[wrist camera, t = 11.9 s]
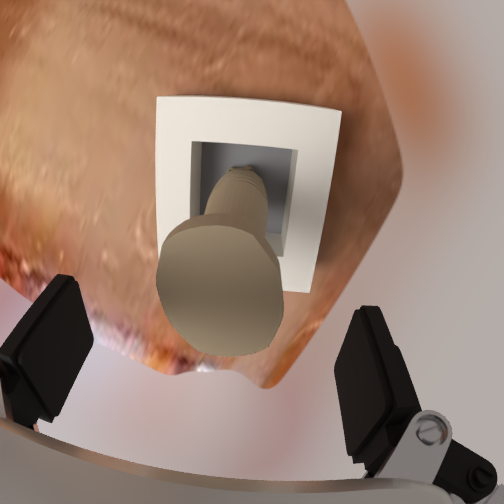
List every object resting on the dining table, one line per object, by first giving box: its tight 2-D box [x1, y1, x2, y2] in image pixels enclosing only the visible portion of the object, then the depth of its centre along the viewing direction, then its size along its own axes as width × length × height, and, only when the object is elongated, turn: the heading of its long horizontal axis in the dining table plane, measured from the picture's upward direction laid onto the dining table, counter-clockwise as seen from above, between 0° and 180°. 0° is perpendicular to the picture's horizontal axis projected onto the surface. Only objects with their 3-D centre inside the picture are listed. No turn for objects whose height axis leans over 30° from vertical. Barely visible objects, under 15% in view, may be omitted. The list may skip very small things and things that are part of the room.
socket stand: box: [156, 95, 342, 293], centre depth 24 cm, size 14×12×5 cm
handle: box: [156, 165, 284, 357], centre depth 19 cm, size 5×6×15 cm
